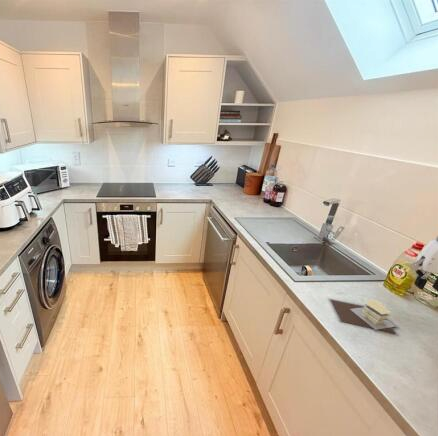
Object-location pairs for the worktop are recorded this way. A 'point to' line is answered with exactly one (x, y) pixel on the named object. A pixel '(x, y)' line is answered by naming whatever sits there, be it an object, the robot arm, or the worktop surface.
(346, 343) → the worktop surface
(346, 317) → the spill
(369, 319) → the stacked layers on plate
